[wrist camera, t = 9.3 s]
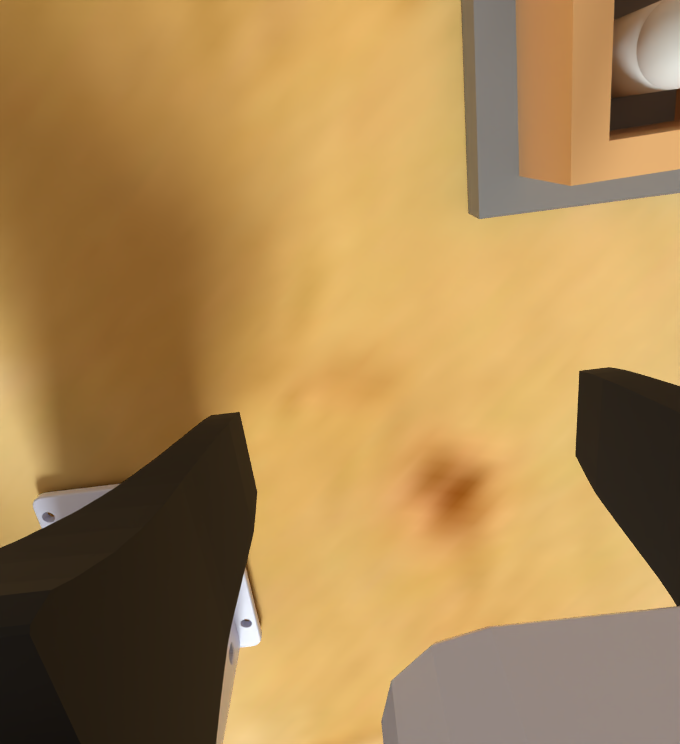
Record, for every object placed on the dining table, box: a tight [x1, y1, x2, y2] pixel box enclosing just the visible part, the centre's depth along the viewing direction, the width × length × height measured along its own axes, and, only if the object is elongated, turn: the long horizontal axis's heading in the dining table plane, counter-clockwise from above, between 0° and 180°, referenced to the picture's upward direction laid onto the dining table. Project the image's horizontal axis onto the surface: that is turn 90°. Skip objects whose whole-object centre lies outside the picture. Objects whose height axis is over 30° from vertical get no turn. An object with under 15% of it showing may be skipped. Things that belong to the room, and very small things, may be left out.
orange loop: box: [515, 0, 680, 186], centre depth 14 cm, size 6×6×4 cm
